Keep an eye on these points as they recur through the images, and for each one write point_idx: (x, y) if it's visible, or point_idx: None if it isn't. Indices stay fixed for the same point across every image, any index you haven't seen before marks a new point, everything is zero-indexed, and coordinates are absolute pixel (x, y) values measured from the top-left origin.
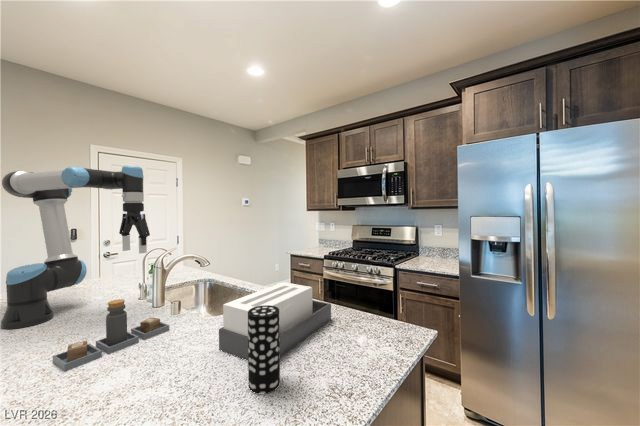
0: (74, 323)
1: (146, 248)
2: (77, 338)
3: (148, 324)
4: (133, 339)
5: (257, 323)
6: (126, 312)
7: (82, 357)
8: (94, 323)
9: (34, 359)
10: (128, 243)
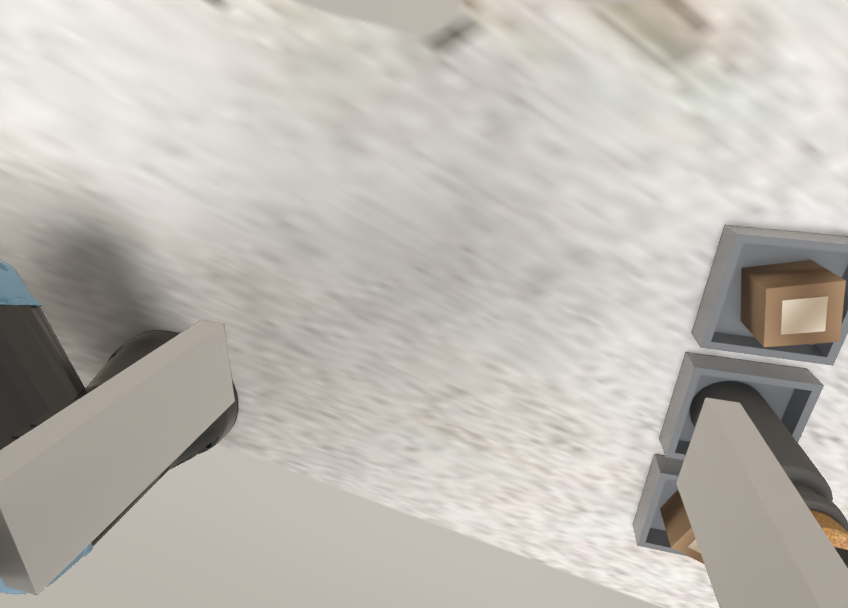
0: (331, 343)
1: (770, 454)
2: (501, 412)
3: (823, 339)
4: (813, 402)
5: None
6: (818, 476)
7: None
8: (400, 315)
9: (543, 520)
10: (150, 403)
